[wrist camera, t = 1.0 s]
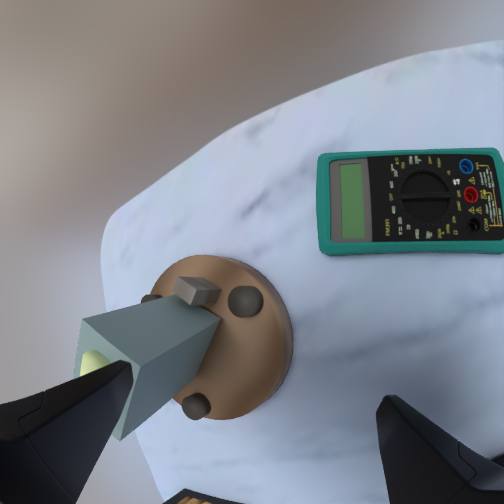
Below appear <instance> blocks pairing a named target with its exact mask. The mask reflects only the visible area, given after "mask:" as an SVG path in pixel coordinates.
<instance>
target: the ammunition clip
mask: <svg viewBox="0 0 504 504" xmlns="http://www.w3.org/2000/svg"><path fill="white" fill-rule="evenodd" d="M163 504H243V503H238V502H233V501H229V500H224V499H220V498H216V497H212V496H209V495H205V494H202V493H198V492H195V491H191V490H188V489H183V490H182V491H180V492H179V493H178V494H176V495H175V496H173V497H172V498H170V499H169V500H167V501H166V502H164V503H163Z"/></svg>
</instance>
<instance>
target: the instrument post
mask: <svg viewBox="0 0 504 504" xmlns="http://www.w3.org/2000/svg"><path fill="white" fill-rule="evenodd" d="M220 320H221V318H219V317H217V316H216V315H214V314H212V313H210V312H209V311H207V310H205V309H203V308H202V307H200V306H198V305H190V304H188V303H187V302H186V301H184V300H183V299H182V298H180V297H179V296H178V295H177V294H174V295H170V296H167V297H163V298H159V299H156V300H152V301H148V302H145V303H141V304H137V305H134V306H130V307H126V308H122V309H119V310H115V311H111V312H107V313H103V314H100V315H96V316H92V317H88V318H84V319H82V323H81V329H80V334H79V340H78V346H77V353H76V360H75V368H74V377H73V379H75V378H77V377H80V376H82V375H85V374H87V373H90V372H92V371H94V370H97V369H99V368H101V367H104V366H106V365H108V364H111V363H113V362H115V361H118V360H124V361H128V362H130V363H131V365H132V372H133V379H134V382H133V386H132V389H131V391H130V394H129V396H128V399H127V401H126V404H125V406H124V409H123V412H122V414H121V416H120V419H119V421H118V423H117V424H116V426H115V428H114V430H113V432H112V434H111V435H113V436H114V437H115V438H117V439H118V440H119V441H121V440H122V439H123V438H124V437H126V436H127V435H128V434H130V433H131V432H132V431H133V430H135V429H136V428H137V427H138V426H139V425H141V424H142V423H143V422H144V421H146V420H147V419H148V418H149V417H150V416H152V415H153V414H154V413H155V412H156V411H158V410H159V409H160V408H161V407H162V406H163V405H165V404H166V403H167V402H168V401H169V400H170V399H172V398H173V397H174V396H175V395H176V394H177V393H179V392H180V391H181V390H182V389H183V388H184V387H185V386H187V385H188V384H189V383H190V382H191V381H192V380H193V379H194V378H195V376H196V374H197V372H198V369H199V367H200V365H201V363H202V360H203V358H204V356H205V354H206V351H207V349H208V347H209V345H210V342H211V340H212V338H213V335H214V333H215V331H216V329H217V326H218V324H219V322H220Z"/></svg>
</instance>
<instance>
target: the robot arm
mask: <svg viewBox="0 0 504 504" xmlns="http://www.w3.org/2000/svg"><path fill="white" fill-rule="evenodd" d="M133 382H134V379H133V372H132V365H131V363H130V362H128V361H124V360H118V361H115V362H113V363H111V364H108V365H106V366H104V367H101V368H99V369H97V370H94V371H92V372H90V373H87V374H85V375H82V376H80V377H77V378H75V379H73V380H70V381H68V382H65V383H63V384H60V385H58V386H55V387H53V388H50V389H48V390H45V392H44V391H42V392H40V393H37V394H34V395H32V396H29V397H26V398H22V399H19V400H16V401H12V402H8V403H4V404H0V504H76V502H77V500H78V498H79V496H80V494H81V492H82V490H83V488H84V485H85V484H86V482H87V480H88V477H89V476H90V474H91V472H92V470H93V468H94V466H95V464H96V462H97V460H98V458H99V456H100V454H101V453H102V451H103V449H104V447H105V445H106V443H107V441H108V439H109V437H110V436H111V434H112V432H113V430H114V428H115V426H116V424H117V423H118V421H119V419H120V416H121V414H122V412H123V409H124V406H125V404H126V401H127V399H128V396H129V394H130V391H131V389H132V386H133ZM376 422H377V430H378V440H379V449H380V454H381V459H382V464H383V469H384V474H385V479H386V484H387V490H388V496H389V501H390V504H504V456H502V457H500V458H499V459H497V460H495V461H493V462H492V461H490V460H488V459H486V458H484V457H483V456H481V455H479V454H477V453H476V452H474V451H473V450H471V449H470V448H468V447H467V446H465V445H464V444H462V443H461V442H460V441H458V440H457V439H455V438H454V437H452V436H451V435H450V434H448V433H447V432H445V431H444V430H443V429H441V428H440V427H439V426H437V425H436V424H434V423H433V422H432V421H430V420H429V419H428V418H426V417H425V416H424V415H422V414H421V413H419V412H418V411H417V410H415V409H414V408H413V407H411V406H410V405H409V404H407V403H406V402H405V401H403V400H402V399H401V398H399V397H398V396H397V395H386V396H385V397H384V398H383V400H382V402H381V404H380V406H379V408H378V409H377V412H376Z"/></svg>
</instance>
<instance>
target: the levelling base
mask: <svg viewBox="0 0 504 504" xmlns="http://www.w3.org/2000/svg"><path fill="white" fill-rule="evenodd" d="M174 294H177V295H178V296H179V297H180V298H182V299H183V300H184V301H186V302H187V303H188V304H190V305H198V306H200V307H202V308H203V309H205V310H207V311H209V312H210V313H212V314H214V315H216V316H217V317H219V318H221V320H220V322H219V324H218V326H217V329H216V331H215V333H214V335H213V338H212V340H211V342H210V345H209V347H208V349H207V351H206V354H205V356H204V358H203V360H202V363H201V365H200V367H199V369H198V372H197V374H196V376H195V378H194V379H193V380H192V381H191V382H190V383H189V384H188V385H187V386H185V387H184V388H183V389H182V390H181V391H180V392H179V393H177V394H176V395H175V396H174V397H173V399H174V400H175V401H177V402H178V403H179V404H180V405H181V406H182V409H183V411H184V413H185V414H186V416H187V417H189V418H190V419H192V420H199V419H201V418H203V417H205V418H209V419H215V420H227V419H234V418H237V417H241V416H243V415H245V414H247V413H249V412H251V411H252V410H253V409H255V408H256V407H258V406H259V405H260V404H262V403H263V402H264V401H266V400H267V399H268V398H269V397H271V396H272V395H273V394H274V393H275V392H276V391H277V390H278V388H279V387H280V385H281V384H282V382H283V381H284V379H285V377H286V375H287V373H288V370H289V367H290V364H291V358H292V353H293V334H292V327H291V322H290V318H289V315H288V312H287V309H286V306H285V304H284V302H283V301H282V299H281V297H280V295H279V293H278V292H277V290H276V289H275V288H274V286H273V285H272V284H271V283H270V282H269V280H268V279H267V278H266V277H265V276H263V275H262V274H261V273H260V272H259V271H257V270H256V269H254V268H253V267H251V266H250V265H248V264H246V263H243V262H241V261H238V260H235V259H231V258H224V257H217V256H210V255H195V256H190V257H187V258H184V259H181V260H179V261H178V262H176V263H174V264H173V265H171V266H170V267H169V268H168V269H166V271H165V272H164V273H163V274H162V275H161V276H160V277H159V279H158V280H157V282H156V283H155V285H154V287H153V289H152V291H151V293H150V295H145V296H144V297H143V298H142V300H141V303H145V302H148V301H152V300H156V299H159V298H163V297H167V296H170V295H174Z"/></svg>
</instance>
